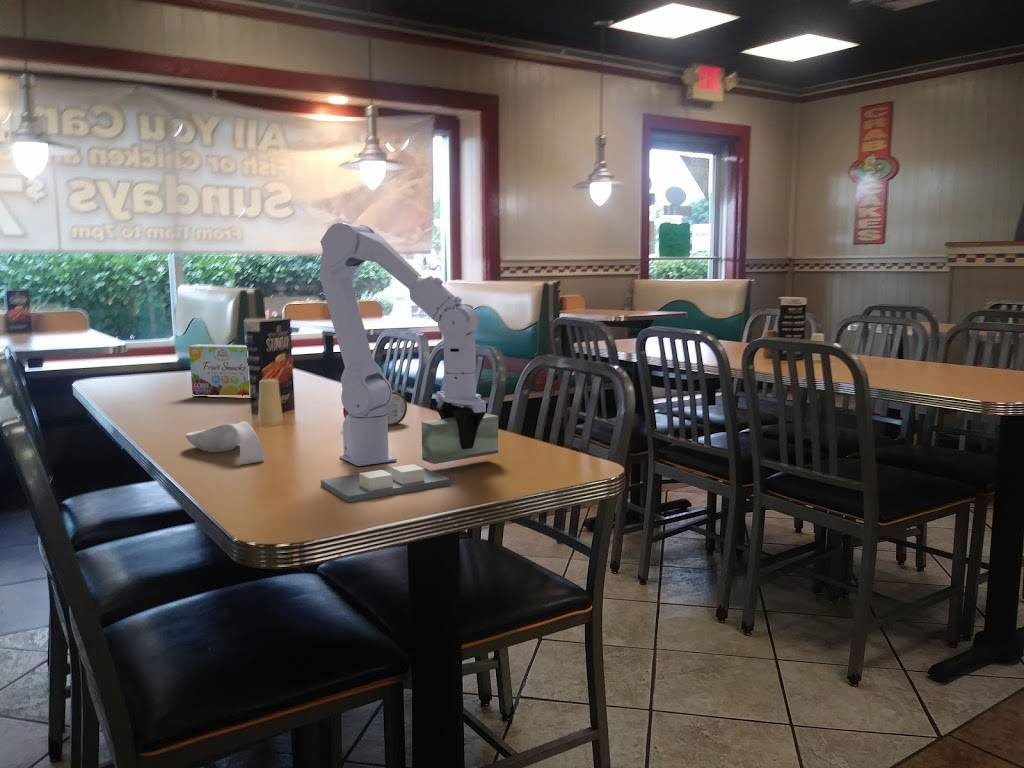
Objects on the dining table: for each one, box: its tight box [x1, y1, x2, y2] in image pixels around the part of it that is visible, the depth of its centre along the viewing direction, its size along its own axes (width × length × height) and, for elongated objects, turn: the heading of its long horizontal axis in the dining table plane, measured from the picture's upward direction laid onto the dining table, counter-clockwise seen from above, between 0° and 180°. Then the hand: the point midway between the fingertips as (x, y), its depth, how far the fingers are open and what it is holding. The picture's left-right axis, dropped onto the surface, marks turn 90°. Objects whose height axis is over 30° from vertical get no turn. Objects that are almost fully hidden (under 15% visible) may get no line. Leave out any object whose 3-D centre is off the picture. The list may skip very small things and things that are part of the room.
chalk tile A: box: [358, 469, 393, 491], centre depth 129 cm, size 4×4×2 cm
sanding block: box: [421, 412, 499, 465], centre depth 145 cm, size 4×14×7 cm, turn 127°
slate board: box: [320, 464, 451, 503], centre depth 133 cm, size 12×18×1 cm, turn 124°
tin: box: [342, 389, 408, 427], centre depth 183 cm, size 15×3×8 cm, turn 122°
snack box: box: [188, 343, 249, 396], centre depth 229 cm, size 21×6×15 cm, turn 81°
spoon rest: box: [185, 420, 266, 465], centre depth 158 cm, size 24×12×7 cm, turn 42°
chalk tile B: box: [391, 463, 424, 484], centre depth 133 cm, size 4×4×2 cm
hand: (460, 445), depth 146 cm, fingers closed on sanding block, 4 cm apart
